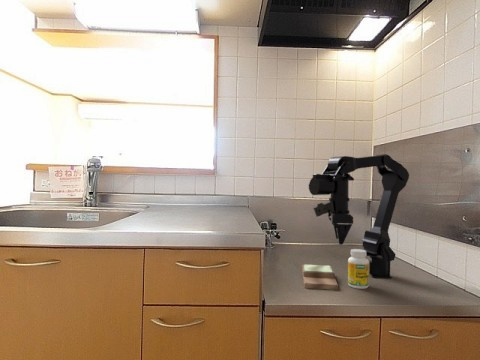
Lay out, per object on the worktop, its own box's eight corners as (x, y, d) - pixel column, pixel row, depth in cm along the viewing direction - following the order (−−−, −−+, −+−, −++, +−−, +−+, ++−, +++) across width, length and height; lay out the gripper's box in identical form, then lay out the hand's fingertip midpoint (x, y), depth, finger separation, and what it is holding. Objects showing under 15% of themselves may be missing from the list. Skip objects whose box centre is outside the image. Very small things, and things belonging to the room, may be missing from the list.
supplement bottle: (361, 282, 110) (361, 247, 110) (373, 288, 104) (373, 252, 104) (343, 283, 109) (344, 248, 108) (354, 289, 102) (355, 253, 102)
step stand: (330, 274, 118) (330, 265, 118) (337, 289, 102) (338, 279, 102) (302, 273, 119) (302, 264, 119) (304, 287, 104) (304, 277, 103)
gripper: (313, 192, 121) (313, 235, 121) (315, 196, 103) (315, 246, 103) (345, 192, 119) (345, 236, 119) (353, 196, 101) (353, 248, 101)
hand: (339, 241), depth 111 cm, fingers open, 9 cm apart
